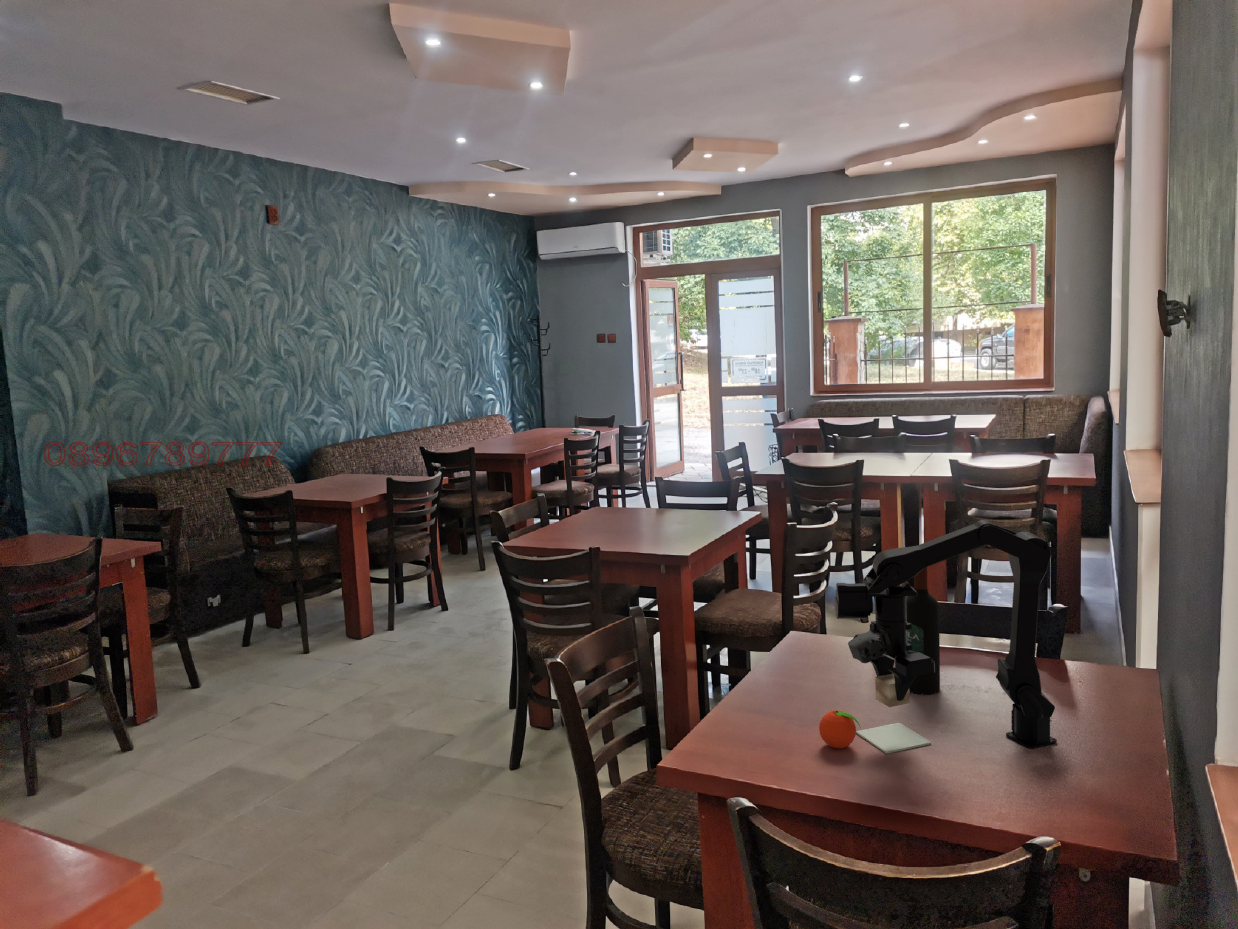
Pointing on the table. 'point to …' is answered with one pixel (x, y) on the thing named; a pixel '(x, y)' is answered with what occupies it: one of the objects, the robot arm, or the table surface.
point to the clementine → (837, 729)
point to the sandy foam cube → (888, 691)
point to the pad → (893, 738)
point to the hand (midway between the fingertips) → (892, 696)
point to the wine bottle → (924, 633)
